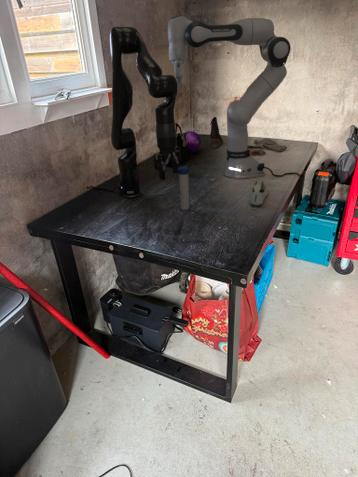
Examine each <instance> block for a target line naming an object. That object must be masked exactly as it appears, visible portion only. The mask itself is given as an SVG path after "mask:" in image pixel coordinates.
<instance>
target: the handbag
mask: <svg viewBox="0 0 358 477" xmlns="http://www.w3.org/2000/svg"><path fill="white" fill-rule="evenodd" d="M175 125H176V137H177V146H180V150H181V161H179V163H178V165H180V164H182V163H184V162H186V161H187V160H189V159H190V157H189V156H190V155H189V153H188V148H187V141H186V134H185V132H183V131H182V127H181V126H180V124H179V123H177V122H175ZM178 130H179V132H178ZM177 158H178V155H177ZM162 162H164V161H163V160H162ZM172 164H173V163H172V161H170V162H168V164H167V165H166V167H172V168H173V166H172Z"/></svg>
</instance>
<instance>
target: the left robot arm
mask: <svg viewBox="0 0 358 477" xmlns="http://www.w3.org/2000/svg"><path fill="white" fill-rule="evenodd" d="M109 45H110V46H109V47H110V58H111V107H112V108H111V112H112V115H111V116H112V117H111V130H110V143H111V145H112V148H113V149H114V150H115V151H123V150H124V151H123V152H122V153H121V154H119V155H118V157H117V164H118V171H119V177H118V181H119V184H118V185H117V186H115V187H114V188H112V189H109V188H107V187H96V186H93V185H89V186H90V187H88V186H86V189H89V188H92V189H95V190H105V191H108V192H113V191H115V190H116V189H118V191H119V192H120V195H121V196H122V197H124V198H128V199H129V198H130V199H131V198H136V197H138V196H141V193H142V192H141V188H140V187H141V186H140V177H139V169H138V160H137V156H138V153H137V138H136V134H135V132H134V130H133V129H132V128H130V127H126V128H123V126H124V122H125V120H126V118H127V116H128V115H129V113H130V111H131V110H132V107H133V105H134V93H135V92H134V86H133V83H132V81H131V79H130V77H129V76H128V74H127V72H126V71H125V68H124V66H123V64H124V63H123V55H133V54H134V55H136V61H135V64H136V70H137V72H138V73H139V75H140V76H141V77H142V78H143V80H144V82H145V84H146V87H147V91H148V94H149V96H151V97H152V98H153V99H163V98H164V101H163V102H162V103H161V104H158V105H156V106H155V108H154V116H155V135H156V137H155V138H156V146H157V149H158V150H159V153H154V154H153V165H154V166H153V167H154V170H155V171H158V175H159V179H160V180H162V181H165V180H166V167H167V166H166V165H167V164H168V162H170V161H172V163H173V164H172V166H173V167H172V166H171V167H172V173H173V174H178V168H179V164H178V163H179V161H181V150H180V146H177V137H176V125H175V123H176V117H175V116H176V115H175V110H176V109H175V108H176V101H177V97H178V92H179V91H178V90H179V88H178V82H177V78H176V76H174V75H172V74H165V75H164V74H163V69H162V67H161V66H160V65H159V64H158V63H157V61H156V60H155V58H153V56H152V54H151V53H150V51H149V49H148V47H147V45H146V43H145V41H144V39H143V38H142V35H141V34H140V32H139V30H137V28H135V27H133V26H113V27H112V28H111V30H110V34H109ZM177 155H178V158H177ZM163 161H164V162H163Z"/></svg>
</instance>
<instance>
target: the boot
mask: <svg viewBox="0 0 358 477" xmlns="http://www.w3.org/2000/svg"><path fill="white" fill-rule="evenodd" d="M209 125H210V134H209V137H210V143H211V148H212V149H217V148H218V147H219V146H220V145H222V144H223V142H224V140H223V138H222V136H221V134H220V129H219V124H218V118H217V116H213V117H212V118H211V121H210V123H209Z"/></svg>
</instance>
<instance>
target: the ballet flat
mask: <svg viewBox="0 0 358 477" xmlns="http://www.w3.org/2000/svg"><path fill="white" fill-rule="evenodd" d="M268 194H269V189H268V186H267V183H266V182H265V181H264V180H262V179H257V180H255V181H254V182H253V184H252V187H251V190H250V196H249V204H250V205H251V206H252V207H260V206H261V205H263V203H264V201H265V198H266V196H267V195H268Z"/></svg>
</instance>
